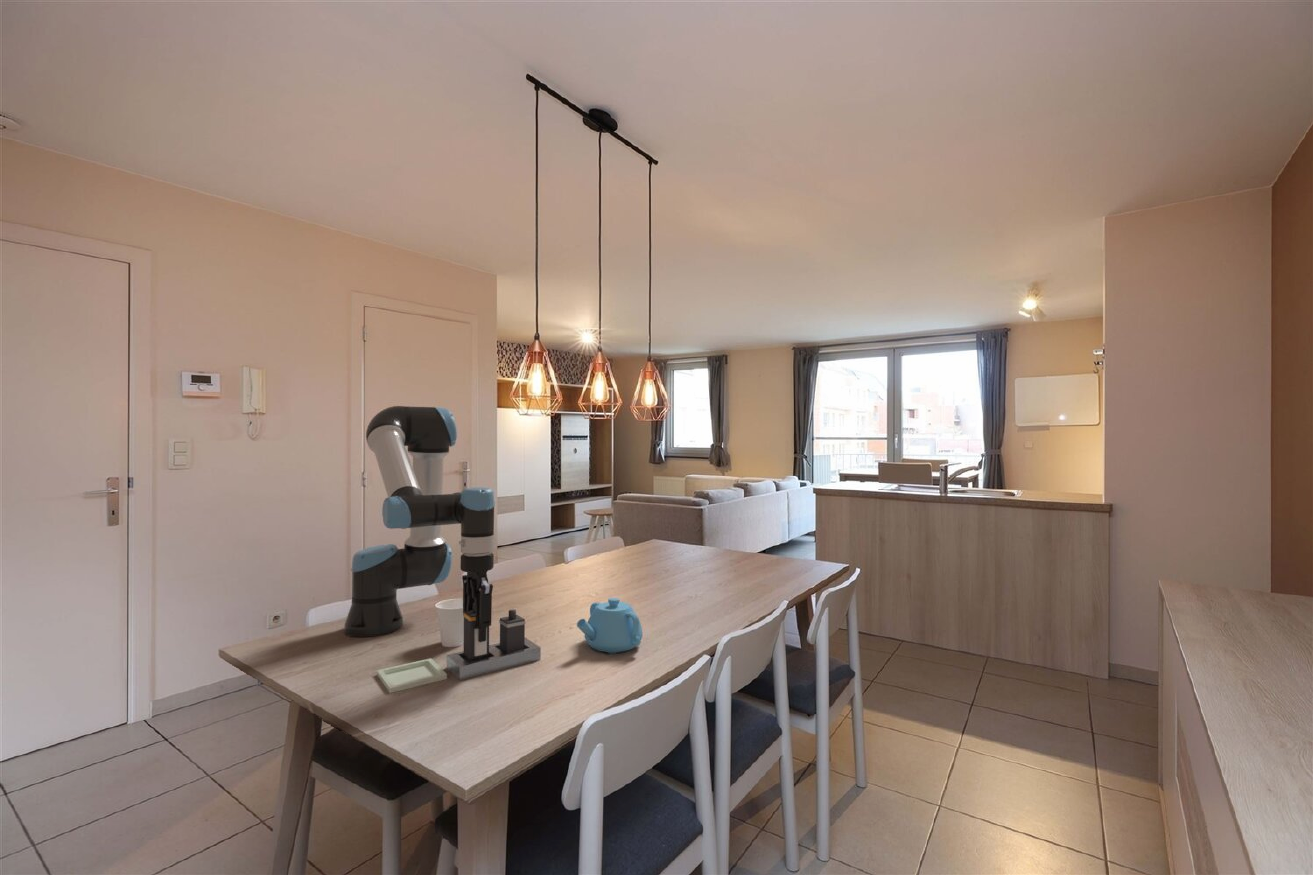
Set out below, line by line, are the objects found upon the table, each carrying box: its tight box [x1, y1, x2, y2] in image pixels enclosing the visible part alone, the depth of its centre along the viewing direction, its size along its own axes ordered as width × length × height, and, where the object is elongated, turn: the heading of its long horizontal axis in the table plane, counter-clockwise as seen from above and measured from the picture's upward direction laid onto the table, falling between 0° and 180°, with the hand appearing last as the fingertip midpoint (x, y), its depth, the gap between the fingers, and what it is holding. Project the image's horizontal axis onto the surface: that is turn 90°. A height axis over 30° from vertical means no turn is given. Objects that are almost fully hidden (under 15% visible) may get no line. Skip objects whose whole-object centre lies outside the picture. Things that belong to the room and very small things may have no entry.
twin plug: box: [498, 609, 526, 654], centre depth 139 cm, size 5×5×12 cm
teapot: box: [576, 597, 643, 655], centre depth 148 cm, size 20×20×13 cm
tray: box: [376, 657, 448, 694], centre depth 129 cm, size 12×12×2 cm
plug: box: [463, 603, 490, 659], centre depth 134 cm, size 5×5×12 cm
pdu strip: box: [446, 637, 542, 681], centre depth 137 cm, size 9×20×4 cm, turn 128°
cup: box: [434, 598, 464, 648], centre depth 150 cm, size 10×10×11 cm
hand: (476, 650), depth 134 cm, fingers closed on plug, 4 cm apart
